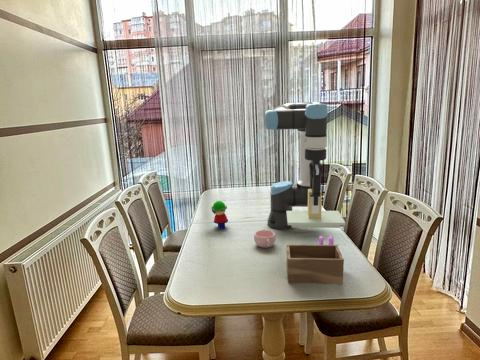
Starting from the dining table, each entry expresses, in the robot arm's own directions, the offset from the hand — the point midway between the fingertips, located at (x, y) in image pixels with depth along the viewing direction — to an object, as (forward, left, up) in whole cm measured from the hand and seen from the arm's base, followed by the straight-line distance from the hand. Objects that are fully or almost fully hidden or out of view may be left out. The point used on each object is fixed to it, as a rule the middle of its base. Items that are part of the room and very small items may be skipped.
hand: (314, 210), depth 125 cm
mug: (-25, -19, -26) cm, 41 cm away
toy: (-48, -44, -26) cm, 70 cm away
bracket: (-16, +8, -26) cm, 32 cm away
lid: (0, 0, -5) cm, 5 cm away
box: (0, 0, -26) cm, 26 cm away
